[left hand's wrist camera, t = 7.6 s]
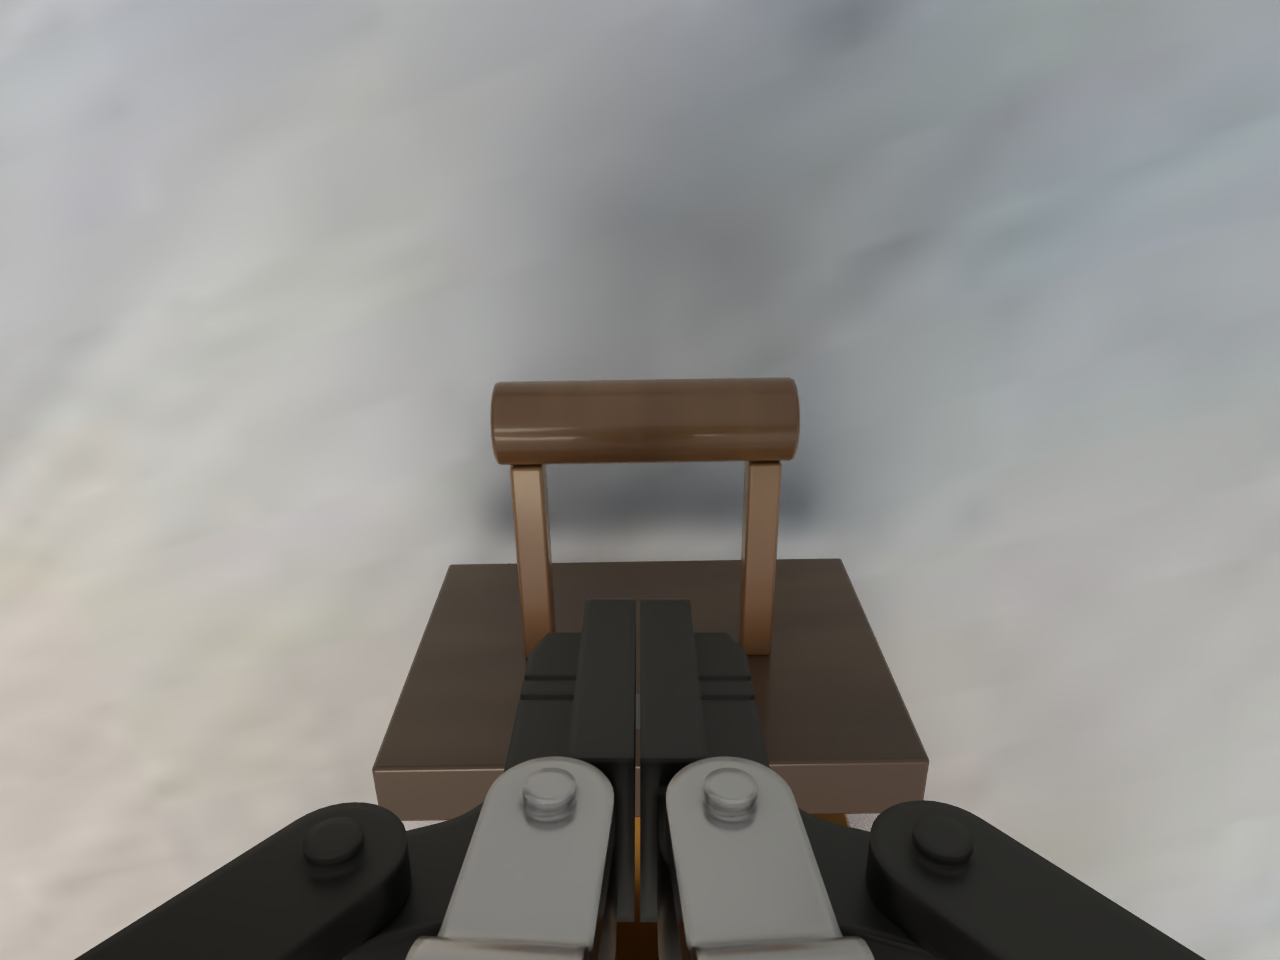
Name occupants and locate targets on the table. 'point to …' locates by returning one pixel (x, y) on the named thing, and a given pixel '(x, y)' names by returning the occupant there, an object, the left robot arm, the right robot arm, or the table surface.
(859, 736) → the drawer
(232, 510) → the table surface
